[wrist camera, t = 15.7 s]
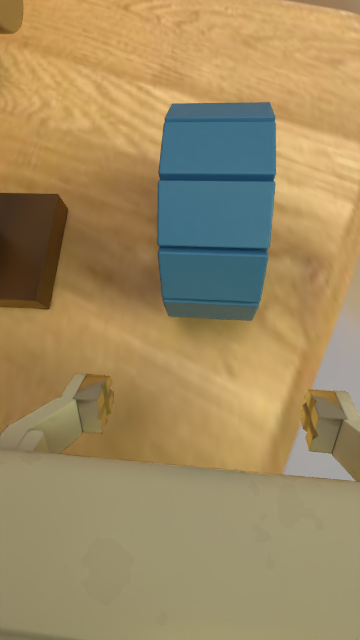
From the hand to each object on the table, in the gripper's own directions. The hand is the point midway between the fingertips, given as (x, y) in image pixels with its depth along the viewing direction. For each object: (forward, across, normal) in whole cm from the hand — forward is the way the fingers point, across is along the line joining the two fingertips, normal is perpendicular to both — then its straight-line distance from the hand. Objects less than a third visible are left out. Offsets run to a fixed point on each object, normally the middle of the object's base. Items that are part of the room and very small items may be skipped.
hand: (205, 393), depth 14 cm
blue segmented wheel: (+8, 0, -5) cm, 9 cm away
